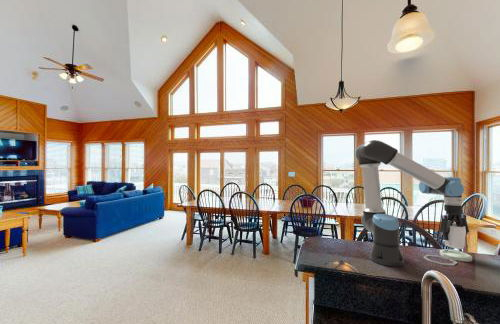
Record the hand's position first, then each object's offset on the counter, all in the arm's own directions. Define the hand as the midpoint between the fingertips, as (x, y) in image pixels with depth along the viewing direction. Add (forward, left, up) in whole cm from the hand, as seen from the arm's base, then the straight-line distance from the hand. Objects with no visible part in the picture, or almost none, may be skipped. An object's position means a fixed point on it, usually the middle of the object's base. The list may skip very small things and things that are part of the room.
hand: (455, 245), depth 120 cm
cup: (0, 0, -1) cm, 1 cm away
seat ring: (-12, -8, -6) cm, 16 cm away
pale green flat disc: (0, 0, -6) cm, 6 cm away
